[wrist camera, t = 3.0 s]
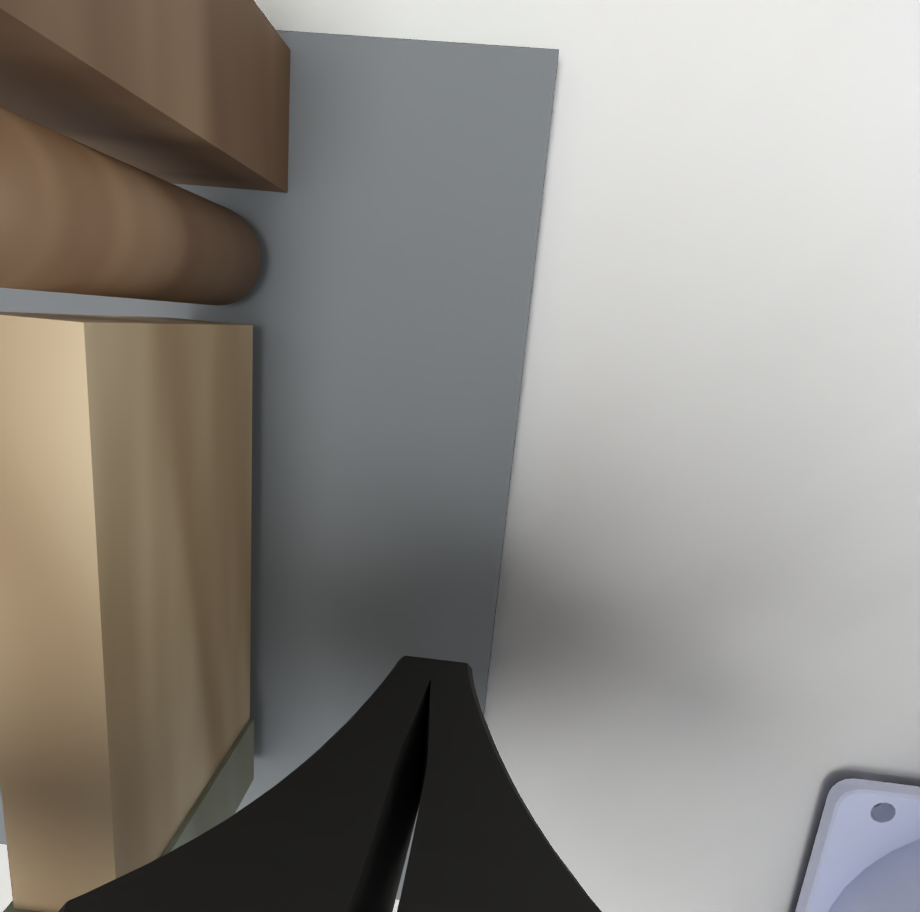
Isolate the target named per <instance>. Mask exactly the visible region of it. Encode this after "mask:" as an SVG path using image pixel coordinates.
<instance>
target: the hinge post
mask: <svg viewBox="0 0 920 912" xmlns="http://www.w3.org/2000/svg"><path fill="white" fill-rule="evenodd" d="M290 53H291V50H290V49H289V47H288V46H287V45H286V43H285V42H284V41H283V39H282V38H281V37H280V35H279V34H278V33H277V31H276V30H275V29H274V27H273V26H272V25H271V23H270V22H269V21H268V19H267V18H266V17H265V15H264V14H263V13H262V11H261V10H260V9H259V7H258V6H257V5H256V3H255V2H254V1H253V0H0V107H1V108H3V109H5V110H8V111H10V112H12V113H14V114H17V115H19V116H21V117H23V118H26V119H28V120H30V121H32V122H35V123H37V124H39V125H41V126H44V127H46V128H48V129H50V130H53V131H55V132H57V133H59V134H62V135H64V136H66V137H68V138H71V139H73V140H75V141H77V142H80V143H82V144H84V145H86V146H89V147H91V148H93V149H95V150H98V151H100V152H102V153H104V154H107V155H109V156H111V157H113V158H116V159H118V160H120V161H122V162H125V163H127V164H129V165H131V166H134V167H136V168H138V169H140V170H143V171H145V172H147V173H149V174H152V175H154V176H156V177H158V178H161V179H163V180H165V181H167V182H170V183H173V184H186V185H198V186H210V187H222V188H234V189H247V190H259V191H271V192H283V193H288V153H289V103H290Z"/></svg>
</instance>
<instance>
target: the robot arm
mask: <svg viewBox="0 0 920 912" xmlns="http://www.w3.org/2000/svg"><path fill="white" fill-rule="evenodd" d="M879 803H881V804H880V805H879V806H877V807H875V808H873V807H874V806H875V805H877V804H879ZM419 804H420V805H419ZM418 808H419V810H418ZM417 812H418V815H417ZM416 816H417V820H416ZM415 820H416V825H415V830H414V835H413V840H412V845H411V850H410V855H409V859H408V864H407V869H406V873H405V878H404V883H403V887H402V892H401V897H400V901H399V906H398V910H397V912H601V910H600V909H599V908H598V907H597V906H596V904H595V903H594V902H593V901H592V900H591V899H590V897H589V896H588V895H587V893H586V892H585V891H584V889H583V888H582V887H581V885H580V884H579V883H578V881H577V880H576V879H575V877H574V876H573V875H572V873H571V872H570V871H569V869H568V868H567V867H566V865H565V864H564V863H563V861H562V860H561V859H560V857H559V856H558V855H557V853H556V852H555V851H554V849H553V848H552V846H551V845H550V843H549V842H548V840H547V839H546V837H545V836H544V834H543V833H542V831H541V830H540V828H539V826H538V825H537V823H536V822H535V820H534V819H533V817H532V815H531V814H530V812H529V810H528V809H527V807H526V805H525V803H524V802H523V800H522V798H521V797H520V795H519V793H518V791H517V789H516V787H515V785H514V784H513V782H512V780H511V778H510V776H509V774H508V772H507V770H506V768H505V766H504V763H503V761H502V759H501V757H500V755H499V753H498V751H497V748H496V746H495V744H494V741H493V739H492V736H491V734H490V731H489V729H488V726H487V724H486V721H485V719H484V716H483V713H482V710H481V707H480V704H479V700H478V697H477V693H476V689H475V685H474V680H473V673H472V668H471V667H470V666H469V664H468V663H463V662H455V661H447V660H438V659H430V658H422V657H413V656H404V657H402V658H401V659H400V660H399V661H398V662H397V664H396V665H395V666H394V668H393V669H392V670H391V672H390V673H389V674H388V676H387V677H386V678H385V680H384V681H383V682H382V683H381V685H380V686H379V687H378V688H377V689H376V691H375V692H374V693H373V694H372V695H371V696H370V697H369V699H368V700H367V701H366V702H365V703H364V704H363V705H362V706H361V707H360V709H359V710H358V711H357V712H356V713H355V714H354V715H353V716H352V717H351V718H350V719H349V720H348V721H347V722H346V723H345V724H344V725H343V726H342V727H341V728H340V729H339V730H338V731H337V732H336V733H335V734H334V735H333V736H332V737H331V738H330V739H329V740H328V741H327V742H326V743H325V744H324V745H323V746H322V747H321V748H320V749H318V750H317V751H316V752H315V753H314V754H313V755H312V756H310V757H309V758H308V759H307V760H306V761H305V762H304V763H302V764H301V765H300V766H299V767H298V768H296V769H295V770H294V771H293V772H291V773H290V774H289V775H288V776H286V777H285V778H284V779H283V780H281V781H280V782H279V783H278V784H276V785H275V786H274V787H272V788H271V789H269V790H268V791H267V792H265V793H264V794H262V795H261V796H260V797H258V798H257V799H255V800H254V801H253V802H251V803H250V804H249V805H247V806H246V807H244V808H243V809H241V810H240V811H238V812H237V813H235V814H234V815H232V816H231V817H229V818H228V819H226V820H225V821H223V822H221V823H220V824H218V825H216V826H215V827H213V828H211V829H210V830H208V831H206V832H205V833H203V834H201V835H200V836H198V837H196V838H194V839H193V840H191V841H189V842H187V843H185V844H184V845H182V846H180V847H178V848H176V849H175V850H173V851H171V852H169V853H167V854H165V855H163V856H162V857H160V858H158V859H156V860H154V861H152V862H150V863H148V864H146V865H144V866H142V867H140V868H138V869H136V870H133V871H131V872H129V873H127V874H125V875H123V876H121V877H119V878H117V879H115V880H112V881H110V882H108V883H106V884H104V885H102V886H100V887H98V888H96V889H93V890H91V891H89V892H87V893H85V894H83V895H80V896H78V897H76V898H73V899H71V900H69V901H67V902H66V903H65V904H64V905H63V906H62V908H61V909H60V910H59V911H58V912H392V911H393V907H394V903H395V899H396V895H397V891H398V887H399V883H400V880H401V876H402V872H403V868H404V864H405V860H406V856H407V852H408V848H409V844H410V840H411V836H412V832H413V828H414V824H415ZM795 912H920V787H919V786H911V785H903V784H895V783H887V782H879V781H871V780H863V779H844V780H842V781H839V782H837V783H836V784H835V785H834V786H832V788H831V789H830V791H829V793H828V796H827V799H826V803H825V807H824V810H823V814H822V817H821V821H820V825H819V828H818V832H817V835H816V839H815V842H814V846H813V850H812V853H811V857H810V860H809V864H808V868H807V871H806V875H805V878H804V882H803V885H802V889H801V893H800V896H799V900H798V903H797V907H796V911H795Z"/></svg>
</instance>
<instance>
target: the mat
mask: <svg viewBox="0 0 920 912" xmlns="http://www.w3.org/2000/svg"><path fill="white" fill-rule="evenodd" d="M276 31H277V33H278V34H279V35H280V37H281V38H282V39H283V41H284V42H285V43H286V45H287V46H288V47H289V49H290V50H291V53H290V103H289V153H288V193H283V192H271V191H259V190H247V189H234V188H222V187H210V186H198V185H186V184H174V185H176V186H179V187H181V188H183V189H185V190H188V191H190V192H192V193H194V194H197V195H199V196H201V197H203V198H206V199H208V200H210V201H212V202H215V203H217V204H219V205H221V206H224V207H226V208H228V209H230V210H232V211H234V212H236V213H237V214H238V215H240V216H241V217H242V218H243V219H244V220H245V221H246V222H247V223H248V224H249V226H250V227H251V229H252V230H253V232H254V234H255V236H256V238H257V241H258V244H259V248H260V255H261V264H260V271H259V275H258V278H257V280H256V282H255V284H254V286H253V287H252V289H251V290H250V291H249V292H248V293H247V294H246V295H245V296H244V297H243V298H241V299H240V300H238V301H236V302H234V303H231V304H227V305H220V306H219V305H203V304H191V303H179V302H167V301H155V300H143V299H131V298H119V297H107V296H95V295H83V294H71V293H59V292H47V291H35V290H23V289H11V288H0V312H25V313H54V314H82V315H111V316H140V317H168V318H181V319H191V320H202V321H213V322H224V323H234V324H245V325H253V363H252V498H251V632H250V718H252V719H254V779H253V781H252V783H251V785H250V787H249V789H248V790H247V792H246V794H245V796H244V798H243V800H242V801H241V803H240V805H239V807H238V809H237V811H236V812H235V813H237V812H238V811H240V810H241V809H243V808H244V807H246V806H247V805H249V804H250V803H251V802H253V801H254V800H255V799H257V798H258V797H260V796H261V795H262V794H264V793H265V792H267V791H268V790H269V789H271V788H272V787H274V786H275V785H276V784H278V783H279V782H280V781H281V780H283V779H284V778H285V777H286V776H288V775H289V774H290V773H291V772H293V771H294V770H295V769H296V768H298V767H299V766H300V765H301V764H302V763H304V762H305V761H306V760H307V759H308V758H309V757H310V756H312V755H313V754H314V753H315V752H316V751H317V750H318V749H320V748H321V747H322V746H323V745H324V744H325V743H326V742H327V741H328V740H329V739H330V738H331V737H332V736H333V735H334V734H335V733H336V732H337V731H338V730H339V729H340V728H341V727H342V726H343V725H344V724H345V723H346V722H347V721H348V720H349V719H350V718H351V717H352V716H353V715H354V714H355V713H356V712H357V711H358V710H359V709H360V707H361V706H362V705H363V704H364V703H365V702H366V701H367V700H368V699H369V697H370V696H371V695H372V694H373V693H374V692H375V691H376V689H377V688H378V687H379V686H380V685H381V683H382V682H383V681H384V680H385V678H386V677H387V676H388V674H389V673H390V672H391V670H392V669H393V668H394V666H395V665H396V664H397V662H398V661H399V660H400V659H401V658H402V657H404V656H413V657H422V658H430V659H438V660H447V661H455V662H463V663H468V664H469V666H470V667H471V668H472V673H473V680H474V685H475V689H476V693H477V697H478V700H479V704H480V707H481V710H482V713H483V716H484V708H485V699H486V690H487V681H488V672H489V663H490V655H491V646H492V637H493V628H494V619H495V610H496V602H497V593H498V584H499V575H500V566H501V557H502V549H503V540H504V531H505V522H506V513H507V504H508V496H509V487H510V478H511V469H512V460H513V451H514V443H515V434H516V425H517V416H518V407H519V398H520V390H521V381H522V372H523V363H524V354H525V345H526V337H527V328H528V319H529V310H530V301H531V292H532V284H533V275H534V266H535V257H536V248H537V239H538V231H539V222H540V213H541V204H542V195H543V186H544V178H545V169H546V160H547V151H548V142H549V133H550V125H551V116H552V107H553V98H554V89H555V80H556V72H557V63H558V54H559V49H544V48H529V47H515V46H500V45H485V44H471V43H456V42H442V41H427V40H412V39H398V38H383V37H368V36H354V35H339V34H325V33H310V32H295V31H281V30H276ZM172 184H173V183H172ZM419 805H420V804H419ZM418 810H419V808H418ZM417 815H418V812H417ZM416 820H417V816H416ZM416 820H415V824H414V828H413V832H412V836H411V840H410V844H409V848H408V852H407V856H406V860H405V864H404V868H403V872H402V876H401V880H400V883H399V887H398V891H397V895H396V899H399V900H400V897H401V892H402V887H403V883H404V878H405V873H406V869H407V864H408V859H409V855H410V850H411V845H412V840H413V835H414V830H415V825H416ZM0 844H6V845H7V841H6V832H5V823H4V814H3V804H2V795H1V786H0Z"/></svg>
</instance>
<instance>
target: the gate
mask: <svg viewBox="0 0 920 912" xmlns="http://www.w3.org/2000/svg"><path fill="white" fill-rule="evenodd" d="M260 264H261V255H260V248H259V244H258V241H257V238H256V236H255V234H254V232H253V230H252V229H251V227H250V226H249V224H248V223H247V222H246V221H245V220H244V219H243V218H242V217H241V216H240V215H238V214H237V213H236V212H234V211H232V210H230V209H228V208H226V207H224V206H221V205H219V204H217V203H215V202H212V201H210V200H208V199H206V198H203V197H201V196H199V195H197V194H194V193H192V192H190V191H188V190H185V189H183V188H181V187H179V186H176V185H174V184H172V183H170V182H167V181H165V180H163V179H161V178H158V177H156V176H154V175H152V174H149V173H147V172H145V171H143V170H140V169H138V168H136V167H134V166H131V165H129V164H127V163H125V162H122V161H120V160H118V159H116V158H113V157H111V156H109V155H107V154H104V153H102V152H100V151H98V150H95V149H93V148H91V147H89V146H86V145H84V144H82V143H80V142H77V141H75V140H73V139H71V138H68V137H66V136H64V135H62V134H59V133H57V132H55V131H53V130H50V129H48V128H46V127H44V126H41V125H39V124H37V123H35V122H32V121H30V120H28V119H26V118H23V117H21V116H19V115H17V114H14V113H12V112H10V111H8V110H5V109H3V108H1V107H0V288H11V289H23V290H35V291H47V292H59V293H71V294H83V295H95V296H107V297H119V298H131V299H143V300H155V301H167V302H179V303H191V304H203V305H219V306H220V305H227V304H231V303H234V302H236V301H238V300H240V299H241V298H243V297H244V296H245V295H246V294H247V293H248V292H249V291H250V290H251V289H252V287H253V286H254V284H255V282H256V280H257V278H258V275H259V271H260ZM252 363H253V325H245V324H234V323H224V322H213V321H202V320H191V319H181V318H168V317H140V316H111V315H82V314H54V313H25V312H0V786H1V795H2V804H3V814H4V823H5V832H6V841H7V850H8V859H9V869H10V878H11V887H12V896H13V901H12V902H11V903H10V904H9V906H8V907H7V908H6V909H5V910H4V911H3V912H58V911H59V910H60V909H61V908H62V906H63V905H64V904H65V903H66V902H67V901H69V900H71V899H73V898H76V897H78V896H80V895H83V894H85V893H87V892H89V891H91V890H93V889H96V888H98V887H100V886H102V885H104V884H106V883H108V882H110V881H112V880H115V879H117V878H119V877H121V876H123V875H125V874H127V873H129V872H131V871H133V870H136V869H138V868H140V867H142V866H144V865H146V864H148V863H150V862H152V861H154V860H156V859H158V858H160V857H162V856H163V855H165V854H167V853H169V852H171V851H173V850H175V849H176V848H178V847H180V846H182V845H184V844H185V843H187V842H189V841H191V840H193V839H194V838H196V837H198V836H200V835H201V834H203V833H205V832H206V831H208V830H210V829H211V828H213V827H215V826H216V825H218V824H220V823H221V822H223V821H225V820H226V819H228V818H229V817H231V816H232V815H234V814H235V812H236V811H237V809H238V807H239V805H240V803H241V801H242V800H243V798H244V796H245V794H246V792H247V790H248V789H249V787H250V785H251V783H252V781H253V779H254V719H252V718H250V632H251V498H252Z"/></svg>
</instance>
